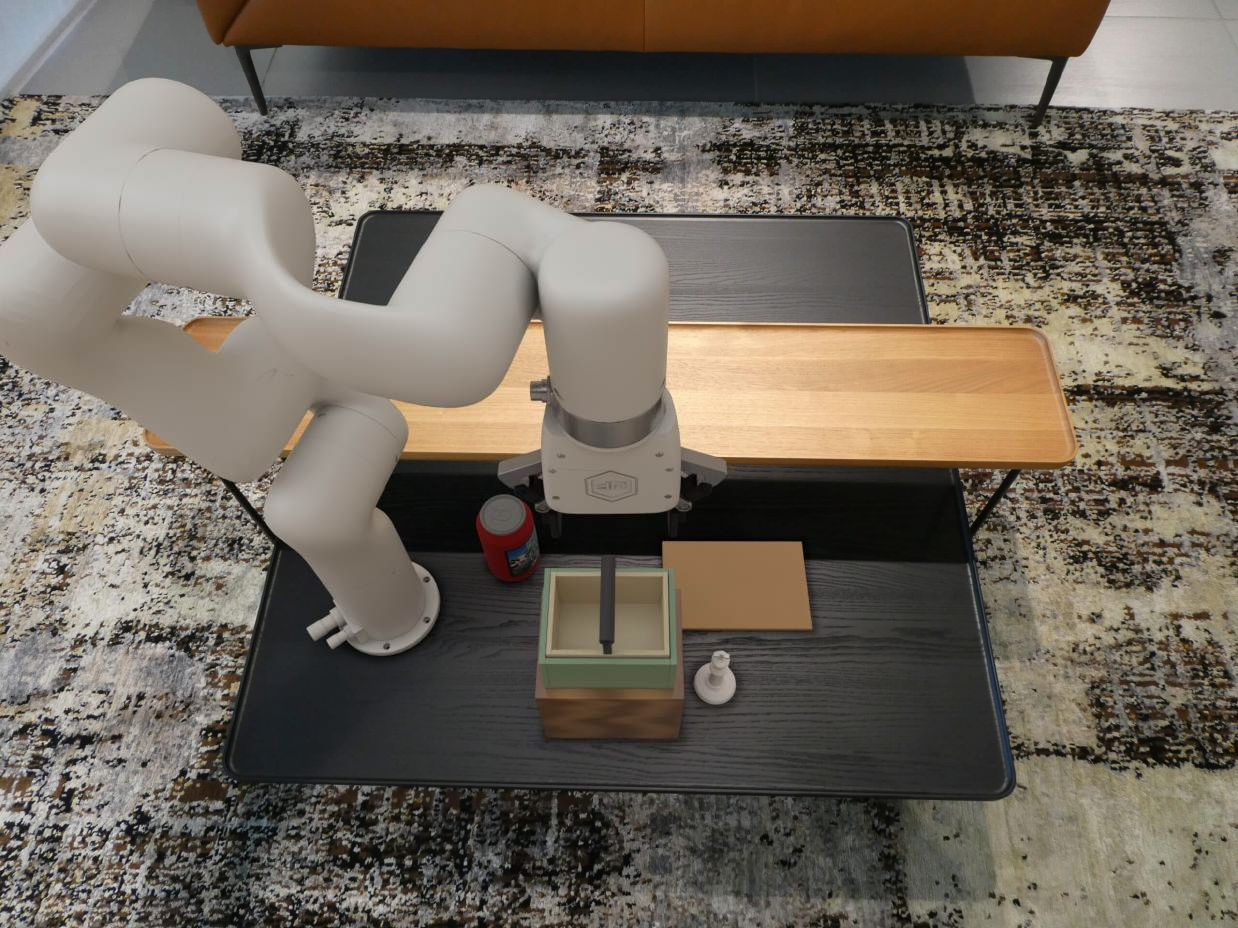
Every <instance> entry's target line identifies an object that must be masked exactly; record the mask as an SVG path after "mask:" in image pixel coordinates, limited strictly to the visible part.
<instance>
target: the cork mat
mask: <svg viewBox="0 0 1238 928" xmlns="http://www.w3.org/2000/svg"><path fill="white" fill-rule="evenodd" d="M661 548H662V549H661V550H662V568H668V569H674V576H675V589H680V590H681V613H682V631H794V632H795V631H801V632H803V631H807V632H808V631H809V632H811V631H812V630H813V621H812V614H811V605H810V599H809V591H808V590H809V589H808V581H807V574H806V566H805V559H804V550H803V543H802V541H698V540H697V541H677V540H676V541H671V540H670V541H668V540H666V541H664V540H663V541H662V543H661Z"/></svg>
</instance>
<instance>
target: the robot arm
mask: <svg viewBox="0 0 1238 928" xmlns="http://www.w3.org/2000/svg"><path fill="white" fill-rule="evenodd" d="M242 155H243V147H242V141H241V137H240V135H239V132H238V130H237V127H236V126H235V123H234V122H233V120H232V119H231V118H230V116H229V115H228V114H227V112H225V110H224V109H222V107H221V106H220V105H219V104H218V103H217V102H216V101H214V100H213V99H212V98H211V97H209V96H208V95H206V94H205V93H204V92H202V91H200V90H198V89H197V88H195V87H193V86H191V85H188V84H186V83H184V82H181V81H179V80H173V79H170V78H164V77H143V78H139V79H135V80H132V81H129V82H127V83H125V84H124V85H122V86H120V87H119V88H118V89H116V90H115V91H114V92H113V93H112V94H111V95H110V96H108V98H106V99H105V100H104V101H103V103H101V104H100V105H99V106H98V107H97V108H96V109H95V110H94V111H93V112H92V113H91V114H90V115H89V116H87V117H86V119H84V120H83V121H82V122H81V123H80V124H79V125H78V126H77V127H76V128H75V129H74V130H73V131H72V132H71V133H70V134H69V135H68V136H66V137H65V138H64V139H63V140H62V141H61V142H60V143H59V144H58V145H57V146H56V147H55V148H54V149H53V150H52V151H51V152H50V153H49V154H48V156H47V157H46V158H45V159H44V161H43V162H42V164H41V165H40V167H39V168H38V170H37V172H36V174H35V176H34V178H33V181H32V184H31V187H30V193H29V210H30V216H29V217H27V219H25V221H24V222H23V223H22V224H21V225H20V226H18V228H16V229H15V231H14V232H13V233H12V234H11V235H10V236H9V237H8V238H7V239H6V240H5V241H4V242H3V243H2V244H1V245H0V355H1V357H3V358H5V359H6V360H8V361H9V362H11V363H12V364H14V365H15V366H17V367H19V368H20V369H23V370H25V371H27V372H28V373H31V374H33V375H34V376H38V377H40V378H42V379H44V380H48V381H50V382H52V383H55V384H58V385H61V386H64V387H68V388H69V389H72V390H76V391H78V392H81V393H84V394H87V395H89V396H91V397H93V398H96V399H97V400H100V401H103V402H105V403H106V404H107V405H109V406H111V407H113V408H115V409H116V410H118V411H120V412H121V413H123V415H126V416H127V417H128V418H130V419H131V420H132V421H134V422H135V423H136V424H138V425H140V426H141V427H143V428H144V429H146V430H147V431H149V432H150V433H151V434H152V435H155V437H157V438H158V439H160V440H162V441H163V442H165V443H166V444H168V445H169V446H171V447H172V448H174V449H175V450H176V451H178V452H180V453H181V454H183V455H184V456H185V457H187V458H188V459H190V460H191V461H193V462H194V463H196V464H197V465H199V466H200V467H202V468H204V469H205V470H207V471H208V472H211V473H212V474H213V475H216V476H218V477H220V478H222V479H223V480H224V479H225V480H227V481H229V482H233V483H239V484H245V483H250V482H254V481H256V480H258V479H259V478H261V477H262V476H263V475H264V474H266V473H267V472H268V471H269V470H270V469H271V468H272V466H274V464H275V462H276V461H277V460H278V458H279V457H280V455H281V454H282V453H283V452H284V450H285V448H286V447H287V446H288V444H289V442H290V441H291V439H292V437H293V436H294V434H295V432H296V431H297V429H298V427H299V426H300V425H301V423H302V422H303V419H304V418H305V416H306V415H307V413H308V411H309V412H310V413H312V415H313V416H311V418H310V420H309V422H308V424H307V425H306V427H305V429H304V430H303V431H302V433H301V435H300V437H299V438H298V440H297V442H296V443H294V445H293V447H292V448H291V450H290V452H289V454H288V456H287V457H286V459H285V460H284V461H283V463H282V465H281V467H280V468H279V470H278V472H277V474H276V476H275V477H274V479H273V480H272V483H271V485H270V487H269V489H268V492H267V494H266V496H265V497H266V498H265V501H264V504H263V505H264V506H263V516H264V521H265V523H266V525H267V527H268V528H269V529H270V530H271V532H272V533H273V534H274V535H275V536H276V537H277V538H278V539H280V540H282V541H283V542H284V543H285V544H287V545H288V546H289V547H290V548H292V549H293V550H294V551H295V552H296V553H298V554H299V555H300V556H301V557H302V558H303V559H304V560H305V562H306V563H307V564H308V566H310V568H311V570H312V571H313V572H314V573H315V575H316V576H317V578H319V580H320V582H321V583H322V584H323V586H324V587H325V589H326V590H327V591H328V593H329V594H330V596H331V597H332V602H333V603H334V605H335V606H334V607H333V608H332V609H329V614H328V615H326V616H324V617H323V618H321V619H318V620H317V621H315V622H314V623H312V624H310V625H308V626H307V627H306V630H307V632H308V634H309V635H310V637H311V638H312V640H313V641H314V642H316V641H318V640H320V639H321V638H323V637H324V636H326V635H328V634H329V632H331V631H333V630H334V629H336V628H337V627H338V629H339V631H338V632H337V633H335V634H333V635H331V636H330V637H328V638H327V639H326V642H327V644H328V646H329V647H330V649H331V651H332V650H335V649H336V648H337V647H339V646H341V645H342V644H343V643H344V642H345V641H347V643H349V644H350V646H352V647H353V648H354V649H356V650H357V651H359V652H361V653H364V654H367V655H370V656H377V657H378V656H379V657H385V656H393V655H397V654H400V653H403V652H405V651H407V650H410V649H412V648H413V647H414V646H417V644H419V643H420V642H421V641H422V640H423V639H424V638H426V637H427V635H428V634H429V633H430V631H432V629H433V628H434V626H435V624H436V621H437V620H438V617H439V613H440V609H441V596H440V590H439V588H438V585H437V583H436V581H435V579H434V577H433V576H432V575H431V573H430V572H429V570H427V569H426V568H425V567H423V566H422V565H420V564H418V563H416V562H414V561H412V560H411V558H410V556H409V553H408V552H407V550H406V548H405V546H404V543H403V542H402V540H401V537H400V535H399V533H398V531H397V529H396V528H395V526H394V523H393V521H392V520H391V519H390V517H389V516H388V515H387V514H386V513H385V512H384V511H383V510H381V509H380V508H378V507H376V506H377V504H378V503H379V500H380V498H381V496H382V494H383V492H384V491H385V488H386V486H387V484H388V481H389V480H390V477H391V475H392V474H393V472H394V470H395V468H396V466H397V464H398V462H399V460H400V458H401V456H402V454H403V452H404V450H405V447H406V445H407V443H408V440H409V433H410V429H409V424H408V421H407V419H406V417H405V416H404V414H403V413H402V411H401V410H400V408H398V407H397V405H396V404H395V403H393V401H397V402H401V403H404V404H405V403H406V404H411V405H415V406H421V407H429V408H438V409H439V408H440V409H458V408H465V407H469V406H474V405H476V404H479V403H480V402H482V401H484V400H485V399H487V398H488V397H489V396H491V395H492V394H493V393H494V392H495V391H496V390H497V389H498V388H499V386H500V385H501V384H502V382H503V381H504V379H505V377H506V375H507V373H508V371H509V370H510V367H511V366H512V364H513V361H514V359H515V357H516V355H517V352H518V351H519V349H520V346H521V344H522V341H523V339H524V337H525V335H526V333H527V330H528V328H529V325H530V324H531V322H532V320H533V319H538V320H539V321H541V323H542V328H543V335H544V344H545V352H546V358H547V365H548V373H549V374H548V375H546V378H541V380H531V381H530V382H529V398H530V401H531V402H541V404H545V408H544V412H543V419H542V422H541V430H540V431H541V434H540V448H539V449H538V448H537V449H536V450H532V451H529V452H526V453H523V454H519V455H517V456H514V457H509V458H507V459H504V460H501V461H500V462H499V463H498V469H497V479H498V480H499V481H500V482H502V484H504V485H505V486H507V487H508V488H509V489H512V490H513V494H514V496H515V497H517V498H519V499H521V500H525V501H527V502H529V503H531V504H534V510H535V511H536V512H537V513H540V515H541V521H542V525H549V528H550V534H551V539H559V537H562V519H563V518H562V517H563V514H574V515H575V514H576V515H604V514H605V515H612V514H613V515H614V514H616V515H617V514H622V515H623V514H656V513H663V512H667V513H666V514H667V535H668V536H670V537H671V538H677V537H678V531H679V530H678V529H679V524H681V523H682V524H684V523H686V522H687V513H688V511H690V510H692V508H693V503H694V502H697V501H698V500H700V499H702V498H704V497H707V496H708V495H710V494H712V493H713V488H714V487H716V486H718V485H719V484H720V483H721V482H722V481H724V480H725V479H726V478H727V476H728V468H727V460H726V459H724V458H722V457H718V456H714V455H711V454H707V453H704V452H701V451H698V450H694V449H691V448H687V447H684V446H681V445H682V444H681V431H680V426H679V420H678V415H677V409H676V407H675V402H674V399H673V396H672V394H671V392H670V391H669V389H668V388H667V367H668V366H667V364H668V347H669V345H668V344H669V325H670V324H669V321H670V302H671V301H670V300H671V270H670V265H669V262H668V259H667V257H666V254H665V252H664V250H663V248H662V247H661V246H660V244H659V243H658V242H657V240H655V239H654V238H653V237H652V236H651V235H649V234H648V233H647V232H646V231H644V230H642V229H641V228H638V227H637V226H634V225H631V224H628V223H625V222H619V221H612V220H611V221H610V220H599V221H590V220H589V221H588V220H586V219H584V218H581V217H579V216H576V215H575V214H574V215H573V214H571V213H568V212H566V211H565V210H562V209H560V208H558V207H555V206H553V205H551V204H549V203H546V202H545V201H542V200H540V199H539V198H536V197H533V196H531V195H529V194H527V193H525V192H522V191H519V190H516V189H514V188H511V187H509V186H504V185H501V184H497V183H476V184H473V185H470V186H468V187H466V188H464V189H462V190H461V191H459V193H457V194H456V195H455V196H454V197H453V198H452V200H451V201H450V202H449V203H448V205H447V206H446V208H445V210H444V212H442V214H441V216H440V217H439V219H438V221H437V223H436V224H435V226H434V228H433V229H432V231H431V233H430V234H429V236H428V238H427V239H426V240H425V242H424V243H423V244H422V246H421V247H420V249H419V250H418V253H416V256H415V257H414V259H413V261H412V263H411V264H410V265H409V267H408V269H407V271H406V273H405V274H404V276H403V277H402V278H401V281H400V282H399V284H398V286H397V287H396V289H395V291H394V292H393V294H392V296H391V298H390V299H389V302H388V303H387V304H386V305H378V304H377V305H376V304H370V303H365V302H358V301H353V300H347V299H343V298H338V297H333V296H330V295H326V294H322V293H321V292H320V293H319V292H317V291H315V290H313V286H314V276H315V265H316V256H317V255H316V254H317V252H316V251H317V235H316V234H317V233H316V225H315V218H314V214H313V211H312V207H311V203H310V201H309V199H308V197H307V195H306V192H305V190H303V188H302V186H301V185H300V184H299V183H298V181H297V180H296V179H295V178H294V177H293V176H292V175H291V174H289V173H288V172H286V171H285V170H283V169H281V168H279V167H277V166H274V165H272V164H271V165H270V164H267V163H261V162H253V161H247V160H242V157H243V156H242ZM149 283H156V284H161V285H166V286H172V287H177V288H181V289H187V290H190V291H191V290H193V291H196V292H201V293H208V294H213V295H216V296H220V297H221V296H222V297H227V298H231V299H238V300H244V301H247V302H249V303H250V305H251V307H252V308H253V310H254V312H255V314H256V315H254V316H250V317H248V318H245V319H244V320H242V321H241V322H240V323H238V324H237V325H236V326H235V327H234V328H233V329H232V330H231V331H230V333H229V334H228V335H227V336H226V338H225V339H224V340H223V341H222V344H221V345H220V346H219V347H218V348H217V351H216V352H212V351H211V350H210V349H208V348H207V347H205V346H204V345H203V344H202V343H200V342H199V341H198V340H196V338H194V337H193V336H192V335H190V334H189V333H188V332H187V331H185V330H184V329H182V328H181V327H180V326H178V325H177V324H174V323H172V322H169V321H167V320H162V319H159V318H155V317H150V316H149V317H148V316H143V315H141V316H140V315H132V314H124V312H125V311H126V310H127V309H128V307H129V306H130V305H131V304H132V303H133V301H135V299H136V298H137V297H138V296H139V295H140V294H141V293H142V292H143V291H144V289H145V288H146V287H147V286H148V284H149ZM685 472H687V473H689V475H688V474H687V473H685ZM540 473H542V474H540ZM537 474H540V475H539V476H536V475H537Z"/></svg>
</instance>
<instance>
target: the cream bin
mask: <svg viewBox="0 0 1238 928" xmlns="http://www.w3.org/2000/svg"><path fill="white" fill-rule="evenodd" d="M616 559H617V558H616V556H615V555H613V554H604V555H602V556H601V558H600V568H601V572H551V579H550V596H549V612H548V628H547V645H546V656H547V658H648V659H669V656H670V649H669V608H668V572H663V573H662V572H616V567H617V566H616V565H617V564H616V563H617V561H616Z"/></svg>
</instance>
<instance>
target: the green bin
mask: <svg viewBox="0 0 1238 928" xmlns="http://www.w3.org/2000/svg"><path fill="white" fill-rule="evenodd" d="M551 572H601V567H600V568H599V567H597V568H596V567H594V568H593V567H587V568H585V567H545V568H544V575H543V576H544V577H543V588H542V589H543V604H542V620H541V635H540V650H539V667H540V671H541V674H542V678H543V682H544V686H545V688H552V689H674V685H675V677H676V669H677V645H676V611H675V576H674V569H668V568H663V567H662V568H661V567H659V568H657V567H656V568H651V567H650V568H647V567H646V568H645V567H644V568H643V567H641V568H639V567H638V568H635V567H632V568H631V567H629V568H626V567H623V568H621V567H618V568H616V572H662V573H663V572H668V608H669V649H670V656H669V659H648V658H547V656H546V645H547V628H548V612H549V596H550V579H551Z"/></svg>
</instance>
